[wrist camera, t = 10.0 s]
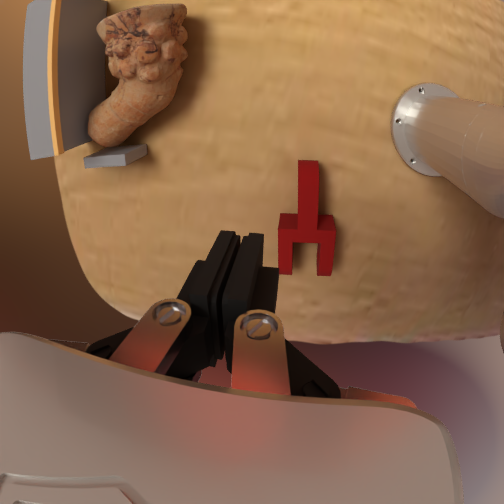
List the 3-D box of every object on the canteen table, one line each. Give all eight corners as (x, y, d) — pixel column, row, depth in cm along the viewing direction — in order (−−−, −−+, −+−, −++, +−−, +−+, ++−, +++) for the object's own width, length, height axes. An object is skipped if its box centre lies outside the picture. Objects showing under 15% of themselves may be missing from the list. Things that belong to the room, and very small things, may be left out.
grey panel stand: (147, -29, 22) (99, -54, 12) (147, 154, 38) (98, 181, 27) (84, -6, 24) (31, -16, 14) (87, 158, 39) (35, 185, 29)
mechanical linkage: (327, 263, 43) (330, 283, 39) (280, 261, 44) (278, 281, 40) (335, 157, 35) (340, 167, 30) (279, 156, 36) (276, 165, 31)
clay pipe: (232, 63, 33) (173, -17, 23) (229, 78, 26) (150, -26, 16) (128, 131, 39) (73, 66, 30) (103, 165, 32) (33, 86, 22)
